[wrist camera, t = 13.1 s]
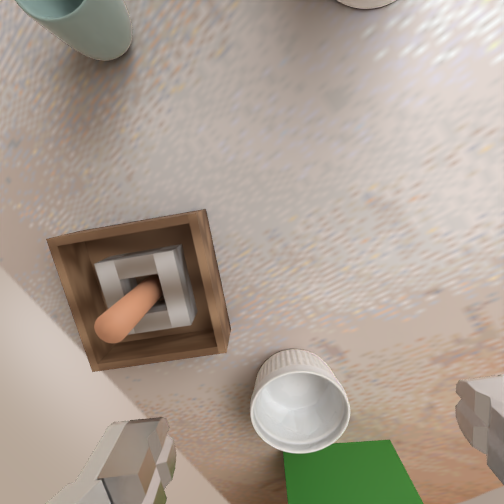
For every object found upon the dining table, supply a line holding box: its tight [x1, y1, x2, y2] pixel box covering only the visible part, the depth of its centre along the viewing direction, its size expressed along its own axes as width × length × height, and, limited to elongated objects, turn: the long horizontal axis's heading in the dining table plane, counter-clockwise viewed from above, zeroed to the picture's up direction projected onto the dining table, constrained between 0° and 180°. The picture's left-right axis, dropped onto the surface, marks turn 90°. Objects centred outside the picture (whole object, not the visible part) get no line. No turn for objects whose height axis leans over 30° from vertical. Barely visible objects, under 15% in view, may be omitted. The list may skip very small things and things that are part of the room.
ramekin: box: [250, 349, 350, 453], centre depth 39 cm, size 13×13×7 cm
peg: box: [94, 274, 163, 343], centre depth 32 cm, size 3×3×12 cm
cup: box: [15, 0, 133, 61], centre depth 27 cm, size 8×8×10 cm
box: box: [46, 209, 231, 372], centre depth 36 cm, size 18×18×6 cm
